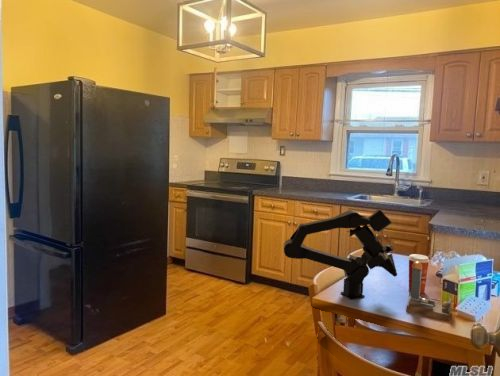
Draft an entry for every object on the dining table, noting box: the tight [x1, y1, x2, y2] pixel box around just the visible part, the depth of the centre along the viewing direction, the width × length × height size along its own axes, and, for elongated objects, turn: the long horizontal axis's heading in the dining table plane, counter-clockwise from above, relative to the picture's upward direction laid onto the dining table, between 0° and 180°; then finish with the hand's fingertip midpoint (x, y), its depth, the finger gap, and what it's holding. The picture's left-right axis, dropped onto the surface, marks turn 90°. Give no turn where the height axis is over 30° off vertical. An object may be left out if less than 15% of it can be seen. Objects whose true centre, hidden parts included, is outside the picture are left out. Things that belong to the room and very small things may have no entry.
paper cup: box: [408, 253, 430, 295], centre depth 149 cm, size 8×8×14 cm
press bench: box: [405, 297, 453, 322], centre depth 130 cm, size 13×8×6 cm, turn 58°
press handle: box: [408, 262, 430, 304], centre depth 131 cm, size 6×3×14 cm, turn 58°
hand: (396, 275), depth 137 cm, fingers closed
